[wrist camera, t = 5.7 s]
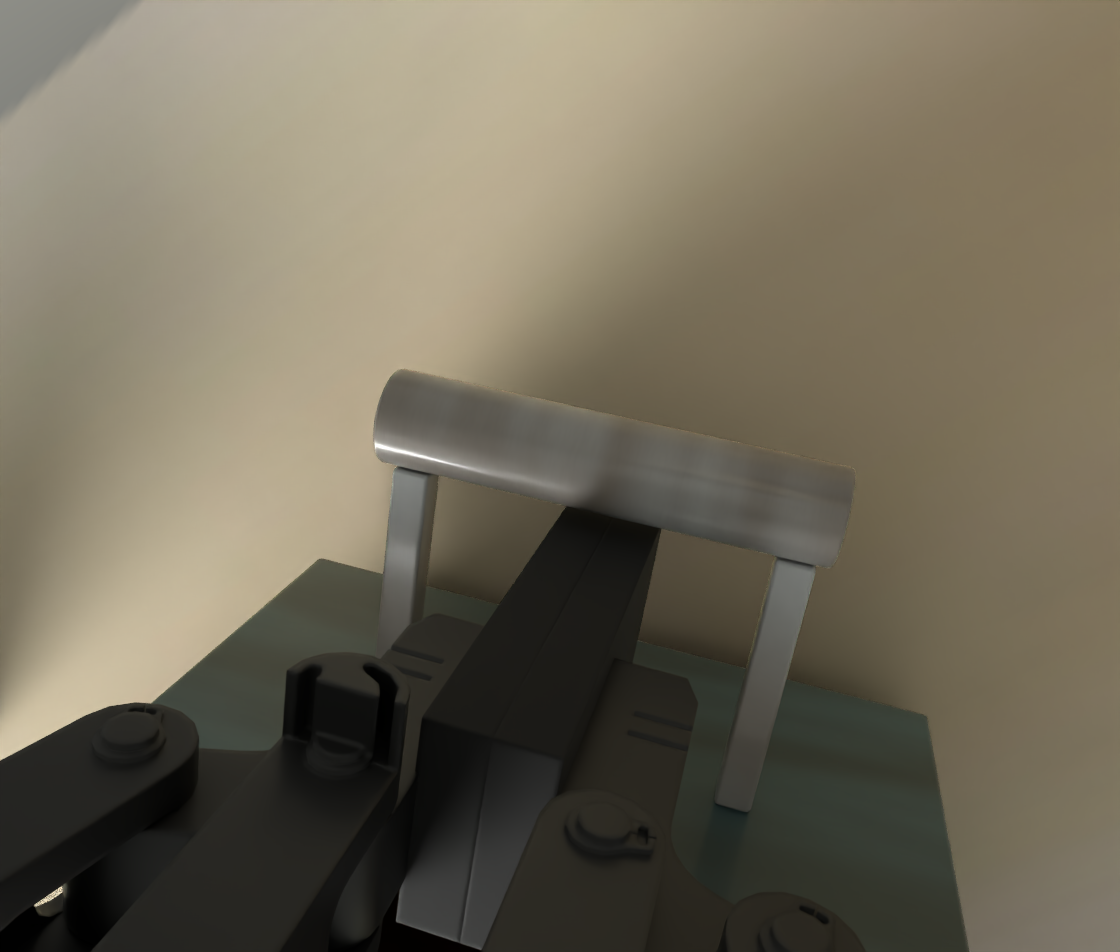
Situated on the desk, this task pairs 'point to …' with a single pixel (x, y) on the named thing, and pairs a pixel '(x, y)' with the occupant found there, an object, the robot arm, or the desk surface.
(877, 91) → the desk surface
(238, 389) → the desk surface
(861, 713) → the drawer
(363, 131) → the desk surface
